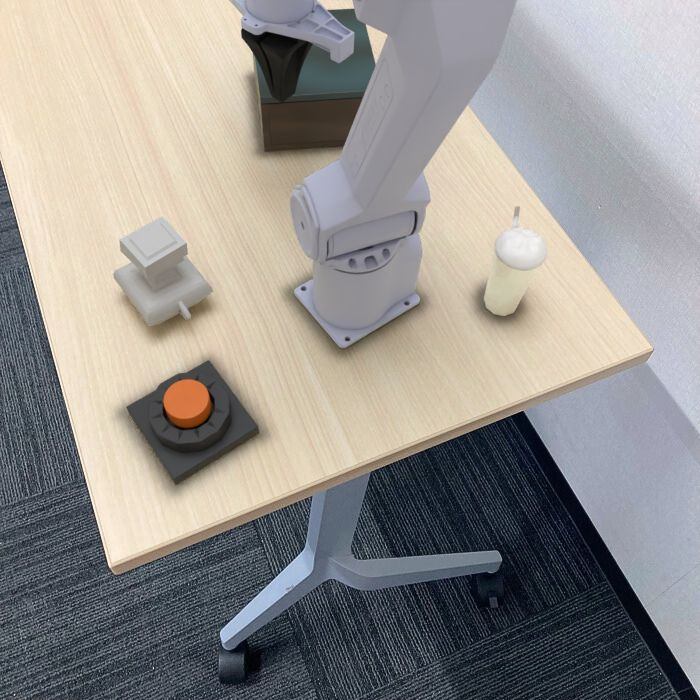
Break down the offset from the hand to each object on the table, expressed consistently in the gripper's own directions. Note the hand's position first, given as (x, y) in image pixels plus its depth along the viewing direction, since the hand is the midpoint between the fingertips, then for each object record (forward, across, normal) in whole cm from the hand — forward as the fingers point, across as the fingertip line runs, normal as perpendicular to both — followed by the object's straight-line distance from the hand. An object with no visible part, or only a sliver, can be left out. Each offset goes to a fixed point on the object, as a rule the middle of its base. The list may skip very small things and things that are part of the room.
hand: (283, 94), depth 68 cm
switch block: (+10, +13, -28) cm, 32 cm away
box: (+10, -4, +10) cm, 15 cm away
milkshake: (+11, +26, 0) cm, 29 cm away
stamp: (+11, +2, -20) cm, 23 cm away
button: (+8, +13, -28) cm, 31 cm away
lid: (+4, -5, +10) cm, 12 cm away
